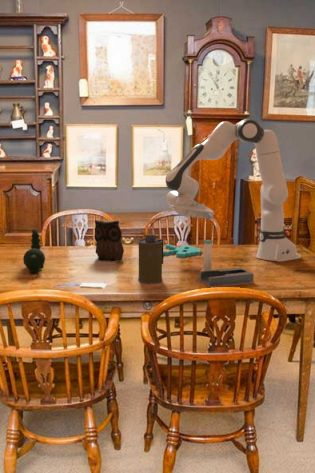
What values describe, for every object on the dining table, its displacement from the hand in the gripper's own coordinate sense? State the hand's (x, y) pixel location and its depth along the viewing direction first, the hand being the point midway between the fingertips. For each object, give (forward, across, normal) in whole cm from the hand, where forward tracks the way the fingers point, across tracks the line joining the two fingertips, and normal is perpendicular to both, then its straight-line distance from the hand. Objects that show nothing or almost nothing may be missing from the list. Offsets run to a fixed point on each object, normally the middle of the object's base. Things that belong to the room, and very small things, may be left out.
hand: (203, 217), depth 236 cm
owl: (-29, -25, +35) cm, 52 cm away
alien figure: (-23, +12, +28) cm, 38 cm away
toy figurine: (-27, -64, +43) cm, 81 cm away
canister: (+12, -27, +28) cm, 41 cm away
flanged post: (+14, +1, +22) cm, 26 cm away
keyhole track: (+29, -1, +19) cm, 35 cm away
